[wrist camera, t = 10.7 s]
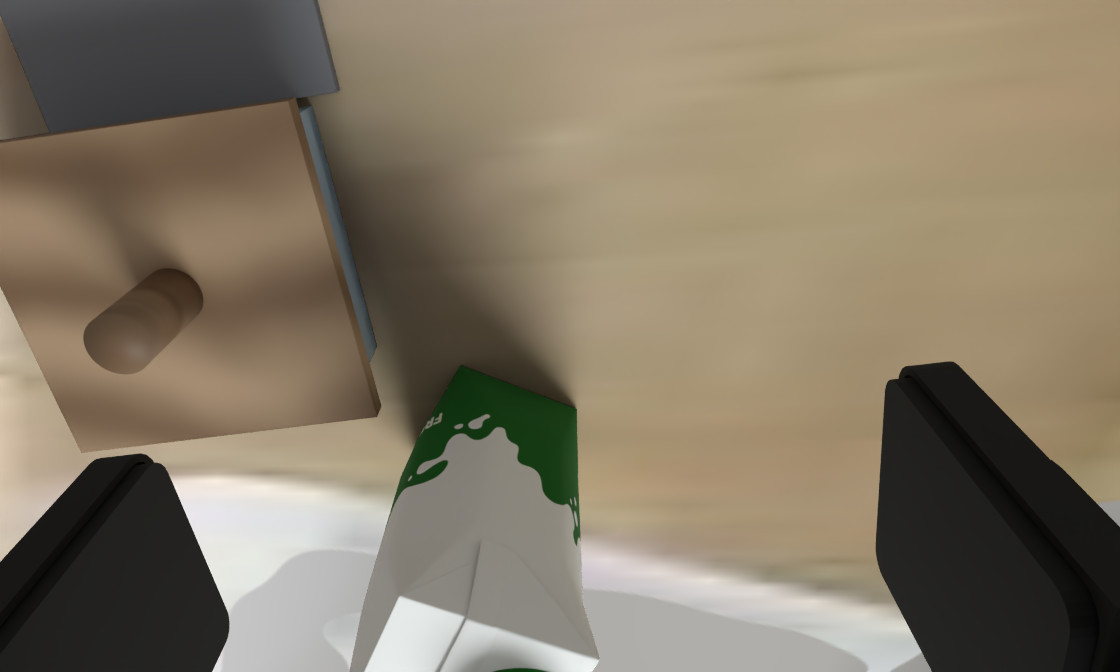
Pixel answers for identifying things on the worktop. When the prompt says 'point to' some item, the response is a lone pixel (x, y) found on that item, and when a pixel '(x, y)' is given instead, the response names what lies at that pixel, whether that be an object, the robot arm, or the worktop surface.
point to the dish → (338, 227)
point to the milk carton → (482, 542)
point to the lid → (181, 277)
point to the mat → (165, 56)
